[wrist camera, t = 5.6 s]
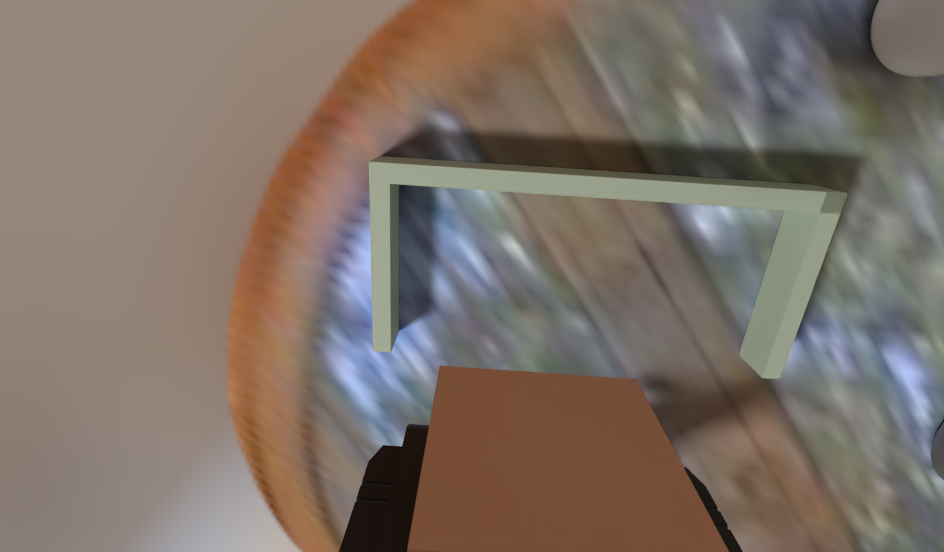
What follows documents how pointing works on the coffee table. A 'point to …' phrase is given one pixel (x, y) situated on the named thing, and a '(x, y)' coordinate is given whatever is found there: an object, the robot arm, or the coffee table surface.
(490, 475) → the terracotta block
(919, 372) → the coffee table surface
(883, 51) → the white cup
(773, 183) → the frame
